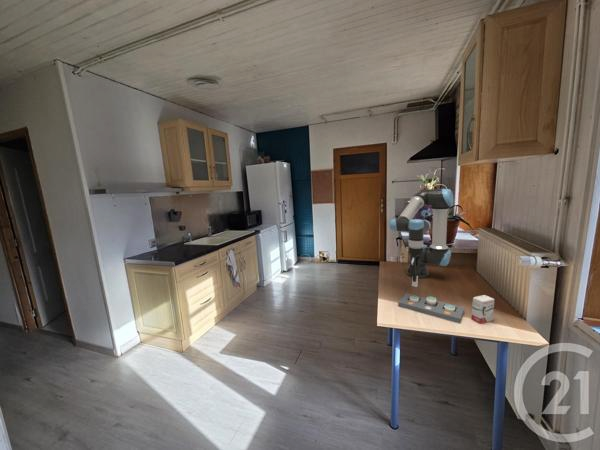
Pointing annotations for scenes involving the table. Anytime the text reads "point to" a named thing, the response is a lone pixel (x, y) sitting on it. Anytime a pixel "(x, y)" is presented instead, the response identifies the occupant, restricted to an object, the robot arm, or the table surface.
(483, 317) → the ink box
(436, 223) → the robot arm
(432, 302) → the button
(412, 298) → the button
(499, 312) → the table surface
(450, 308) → the button
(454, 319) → the board
